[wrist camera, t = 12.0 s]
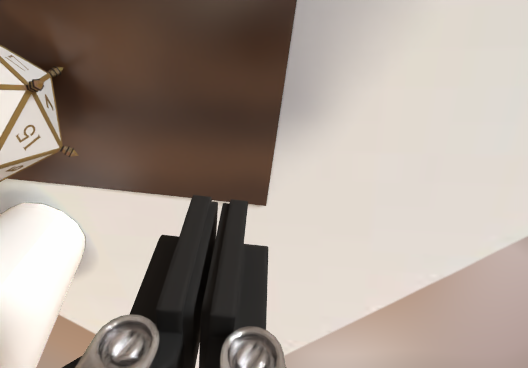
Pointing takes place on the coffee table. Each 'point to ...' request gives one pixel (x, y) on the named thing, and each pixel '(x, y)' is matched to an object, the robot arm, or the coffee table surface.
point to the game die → (27, 114)
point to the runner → (159, 91)
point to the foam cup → (34, 278)
